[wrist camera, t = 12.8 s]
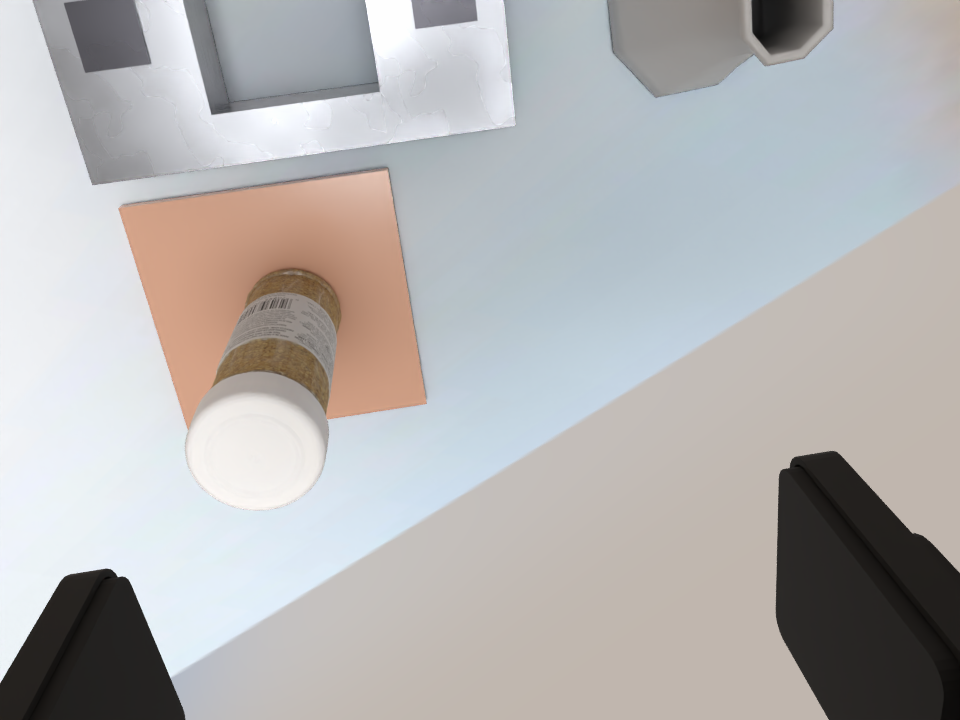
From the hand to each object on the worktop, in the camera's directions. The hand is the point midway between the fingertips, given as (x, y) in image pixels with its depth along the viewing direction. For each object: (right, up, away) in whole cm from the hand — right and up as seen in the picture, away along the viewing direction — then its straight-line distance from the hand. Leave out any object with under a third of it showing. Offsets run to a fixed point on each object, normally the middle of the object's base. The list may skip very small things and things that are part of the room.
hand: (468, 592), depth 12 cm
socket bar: (-8, +18, +22) cm, 30 cm away
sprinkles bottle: (-9, +6, +27) cm, 29 cm away
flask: (+9, +19, +24) cm, 32 cm away
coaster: (-9, +6, +27) cm, 30 cm away
